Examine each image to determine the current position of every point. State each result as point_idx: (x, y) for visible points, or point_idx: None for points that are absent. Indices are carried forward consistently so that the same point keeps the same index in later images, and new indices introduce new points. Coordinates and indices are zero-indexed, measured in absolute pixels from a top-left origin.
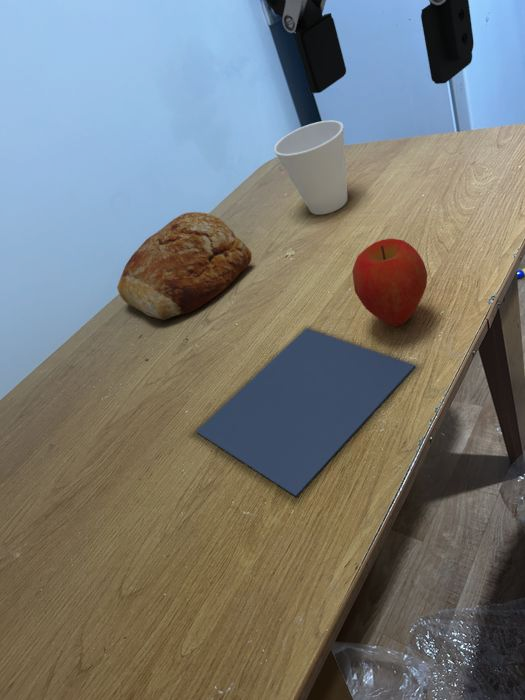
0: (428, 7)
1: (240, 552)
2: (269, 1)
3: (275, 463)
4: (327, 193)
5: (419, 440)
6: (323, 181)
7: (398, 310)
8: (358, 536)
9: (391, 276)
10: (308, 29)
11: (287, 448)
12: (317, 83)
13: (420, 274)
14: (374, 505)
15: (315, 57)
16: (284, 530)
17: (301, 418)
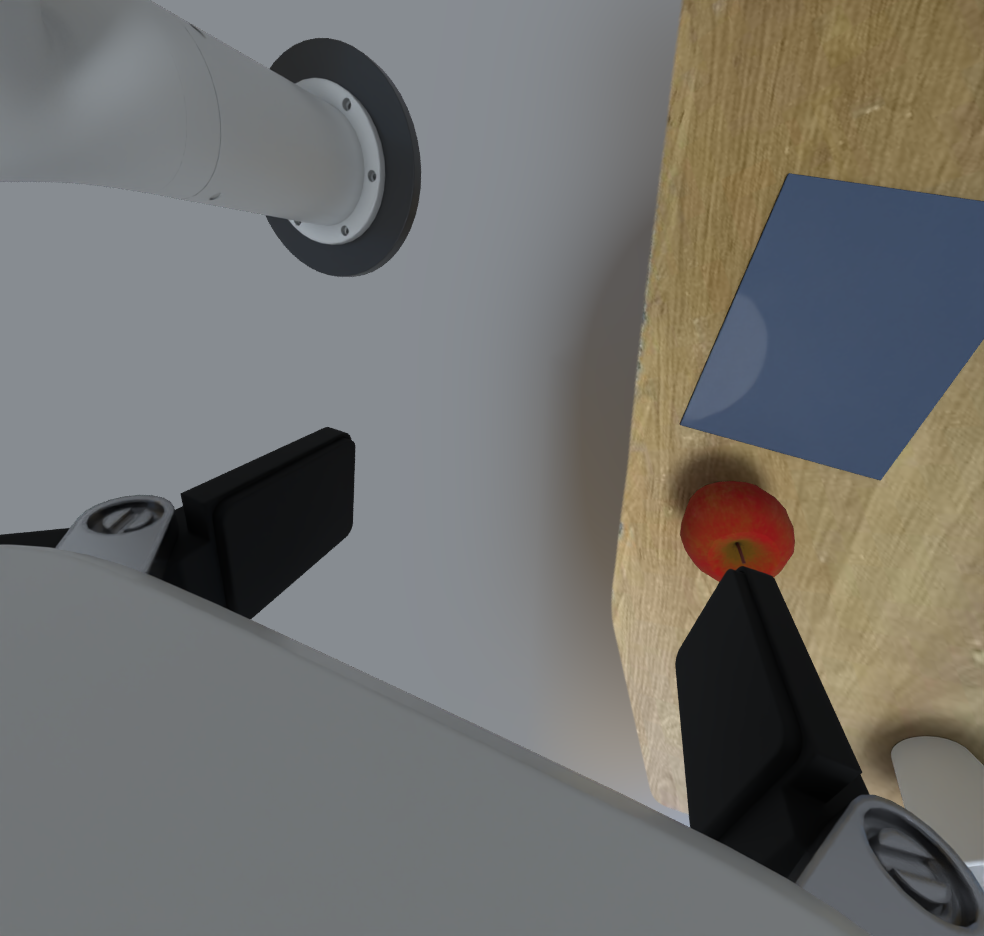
0: (193, 509)
1: (855, 39)
2: None
3: (846, 212)
4: (933, 768)
5: (645, 318)
6: (947, 791)
7: (710, 484)
8: (679, 160)
9: (717, 513)
10: (774, 776)
11: (833, 246)
12: (737, 581)
13: (683, 528)
14: (672, 211)
15: (742, 659)
16: (789, 115)
17: (826, 305)
